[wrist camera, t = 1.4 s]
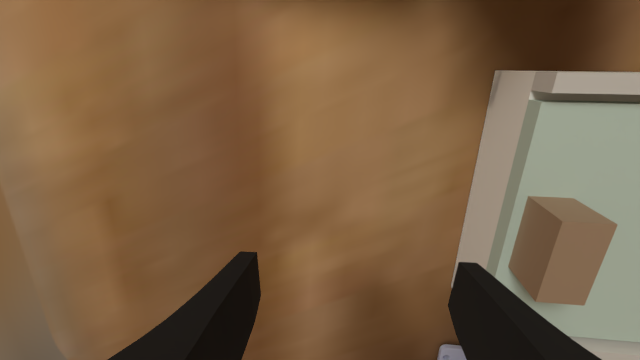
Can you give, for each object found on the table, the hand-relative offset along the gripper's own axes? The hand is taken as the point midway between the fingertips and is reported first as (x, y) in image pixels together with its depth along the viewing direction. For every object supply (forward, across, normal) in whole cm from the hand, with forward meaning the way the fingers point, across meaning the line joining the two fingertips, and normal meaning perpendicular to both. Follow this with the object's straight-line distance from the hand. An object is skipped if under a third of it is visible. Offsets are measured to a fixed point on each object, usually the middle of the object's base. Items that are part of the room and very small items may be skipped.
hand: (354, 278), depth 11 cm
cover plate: (+5, -15, +1) cm, 16 cm away
